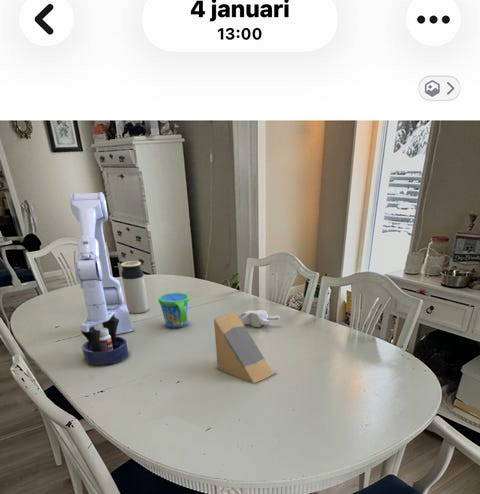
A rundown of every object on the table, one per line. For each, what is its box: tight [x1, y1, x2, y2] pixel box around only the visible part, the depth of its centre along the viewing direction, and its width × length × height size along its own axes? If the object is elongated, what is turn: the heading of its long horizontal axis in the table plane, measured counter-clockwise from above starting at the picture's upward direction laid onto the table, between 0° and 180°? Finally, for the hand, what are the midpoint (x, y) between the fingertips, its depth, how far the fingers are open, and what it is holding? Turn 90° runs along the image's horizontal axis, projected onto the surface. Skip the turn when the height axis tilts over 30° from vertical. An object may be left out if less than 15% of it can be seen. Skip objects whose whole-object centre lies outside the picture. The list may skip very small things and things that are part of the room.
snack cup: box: [158, 292, 190, 329], centre depth 166 cm, size 16×10×10 cm
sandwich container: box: [213, 311, 275, 384], centre depth 130 cm, size 9×15×15 cm, turn 44°
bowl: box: [81, 335, 129, 366], centre depth 145 cm, size 13×13×4 cm
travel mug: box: [120, 260, 149, 314], centre depth 180 cm, size 8×8×18 cm
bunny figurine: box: [238, 309, 281, 328], centre depth 164 cm, size 10×5×15 cm
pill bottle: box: [95, 327, 113, 352], centre depth 143 cm, size 5×5×8 cm
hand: (104, 346), depth 144 cm, fingers open, 7 cm apart
